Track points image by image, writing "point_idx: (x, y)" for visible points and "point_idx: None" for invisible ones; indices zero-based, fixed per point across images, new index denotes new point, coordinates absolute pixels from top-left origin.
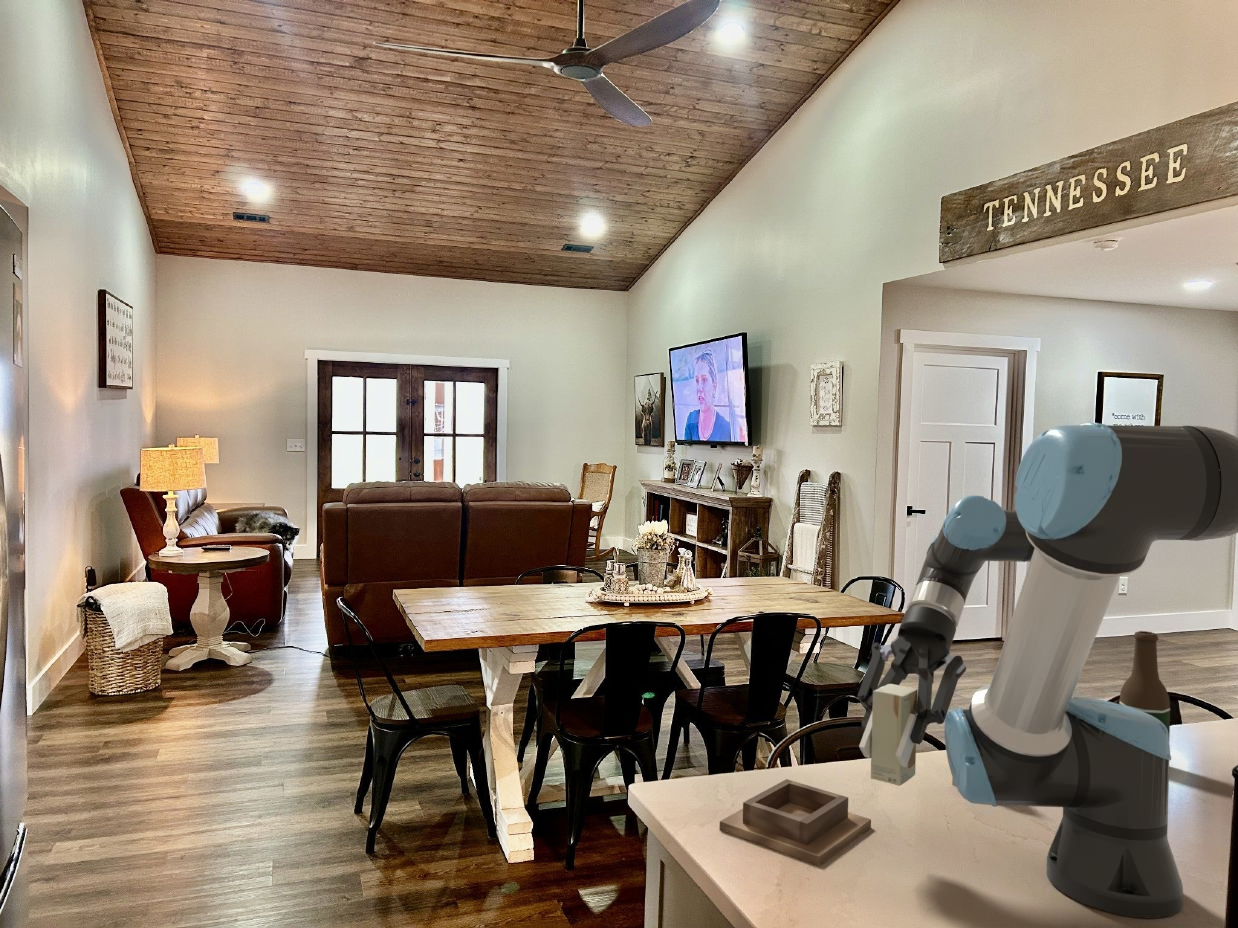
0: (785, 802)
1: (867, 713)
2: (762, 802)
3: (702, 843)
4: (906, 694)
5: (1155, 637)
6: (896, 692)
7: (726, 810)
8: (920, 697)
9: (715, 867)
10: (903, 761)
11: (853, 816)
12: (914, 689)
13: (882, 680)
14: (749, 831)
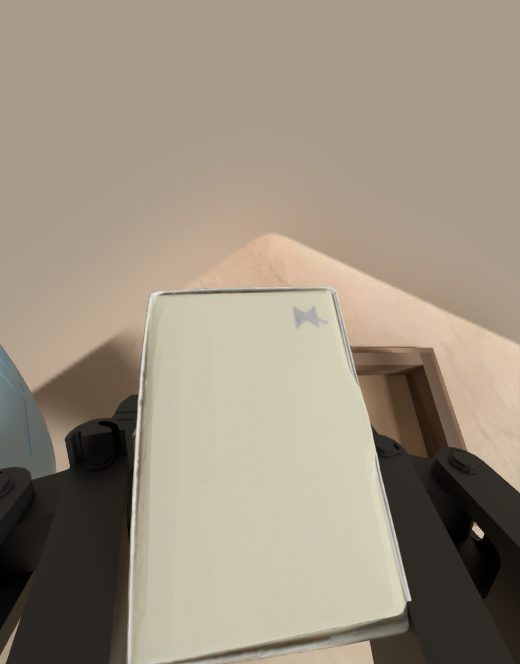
0: None
1: None
2: (425, 389)
3: (405, 310)
4: (151, 370)
5: None
6: (215, 343)
7: (471, 408)
8: (93, 553)
9: (355, 277)
10: None
11: None
12: (145, 605)
13: (490, 629)
14: (388, 348)
